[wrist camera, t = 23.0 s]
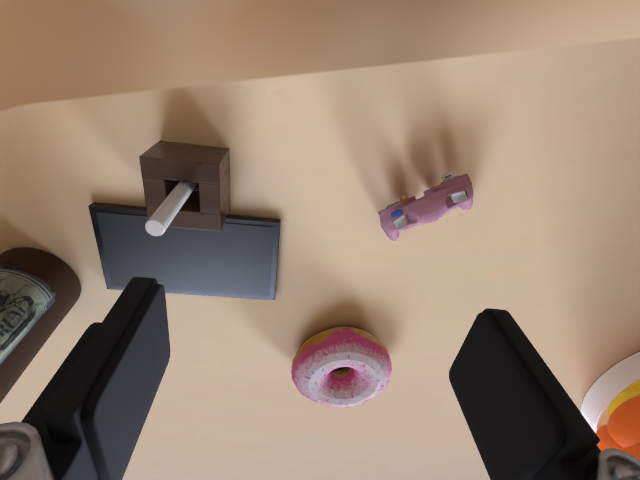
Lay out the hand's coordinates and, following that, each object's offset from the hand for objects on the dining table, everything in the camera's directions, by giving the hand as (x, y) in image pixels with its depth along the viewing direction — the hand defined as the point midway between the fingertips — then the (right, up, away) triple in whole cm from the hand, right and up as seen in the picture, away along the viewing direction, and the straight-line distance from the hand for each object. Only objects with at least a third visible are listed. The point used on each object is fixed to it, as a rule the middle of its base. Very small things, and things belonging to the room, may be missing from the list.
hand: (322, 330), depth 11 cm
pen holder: (-13, +9, +26) cm, 31 cm away
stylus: (-13, +10, +26) cm, 31 cm away
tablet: (-15, +1, +31) cm, 34 cm away
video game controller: (+11, +7, +29) cm, 32 cm away
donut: (+3, -14, +41) cm, 43 cm away
